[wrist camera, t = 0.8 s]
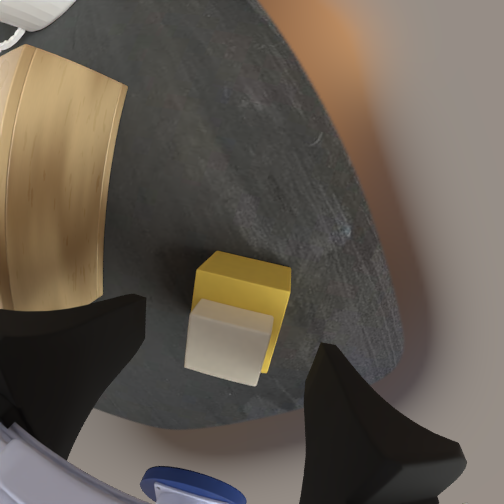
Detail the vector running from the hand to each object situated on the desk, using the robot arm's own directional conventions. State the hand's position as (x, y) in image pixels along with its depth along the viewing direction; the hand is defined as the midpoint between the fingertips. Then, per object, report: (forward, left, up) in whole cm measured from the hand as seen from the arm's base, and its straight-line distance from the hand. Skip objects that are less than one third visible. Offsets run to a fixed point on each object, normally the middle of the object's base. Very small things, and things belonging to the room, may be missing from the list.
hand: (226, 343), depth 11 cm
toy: (0, 0, -5) cm, 5 cm away
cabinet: (+4, +15, -5) cm, 16 cm away
